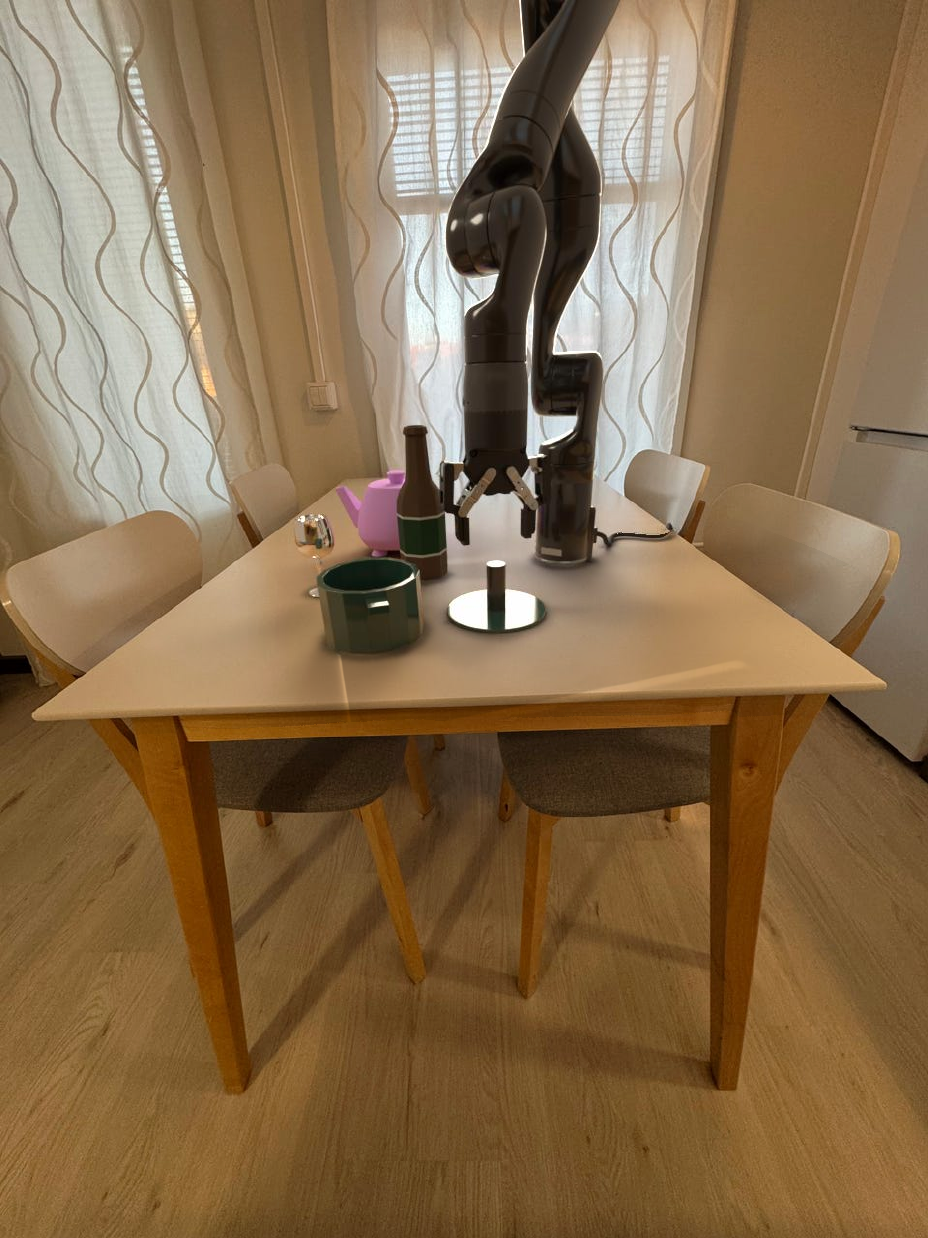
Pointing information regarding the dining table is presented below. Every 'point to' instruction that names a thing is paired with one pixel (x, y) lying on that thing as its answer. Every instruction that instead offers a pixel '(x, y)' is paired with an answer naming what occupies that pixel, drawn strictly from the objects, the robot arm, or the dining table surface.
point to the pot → (371, 605)
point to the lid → (496, 606)
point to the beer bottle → (421, 510)
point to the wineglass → (314, 539)
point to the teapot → (376, 512)
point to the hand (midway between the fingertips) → (496, 540)
